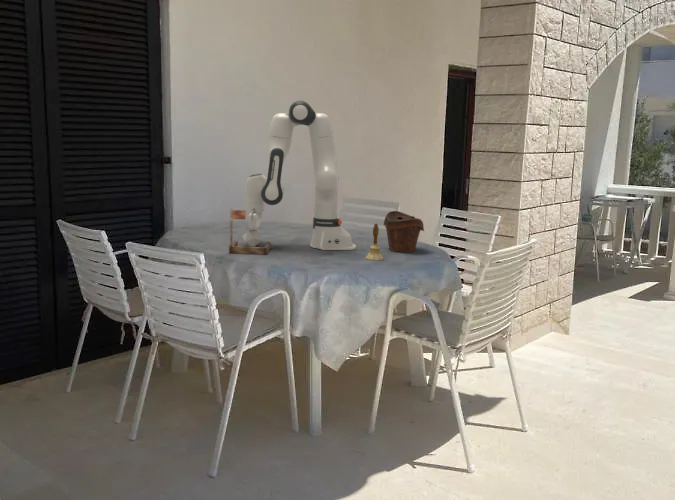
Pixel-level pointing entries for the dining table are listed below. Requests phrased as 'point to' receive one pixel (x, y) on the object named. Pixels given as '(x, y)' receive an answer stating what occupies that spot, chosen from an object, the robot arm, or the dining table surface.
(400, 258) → the dining table surface
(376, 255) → the hand bell
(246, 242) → the die
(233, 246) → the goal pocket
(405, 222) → the brown lidded bucket
